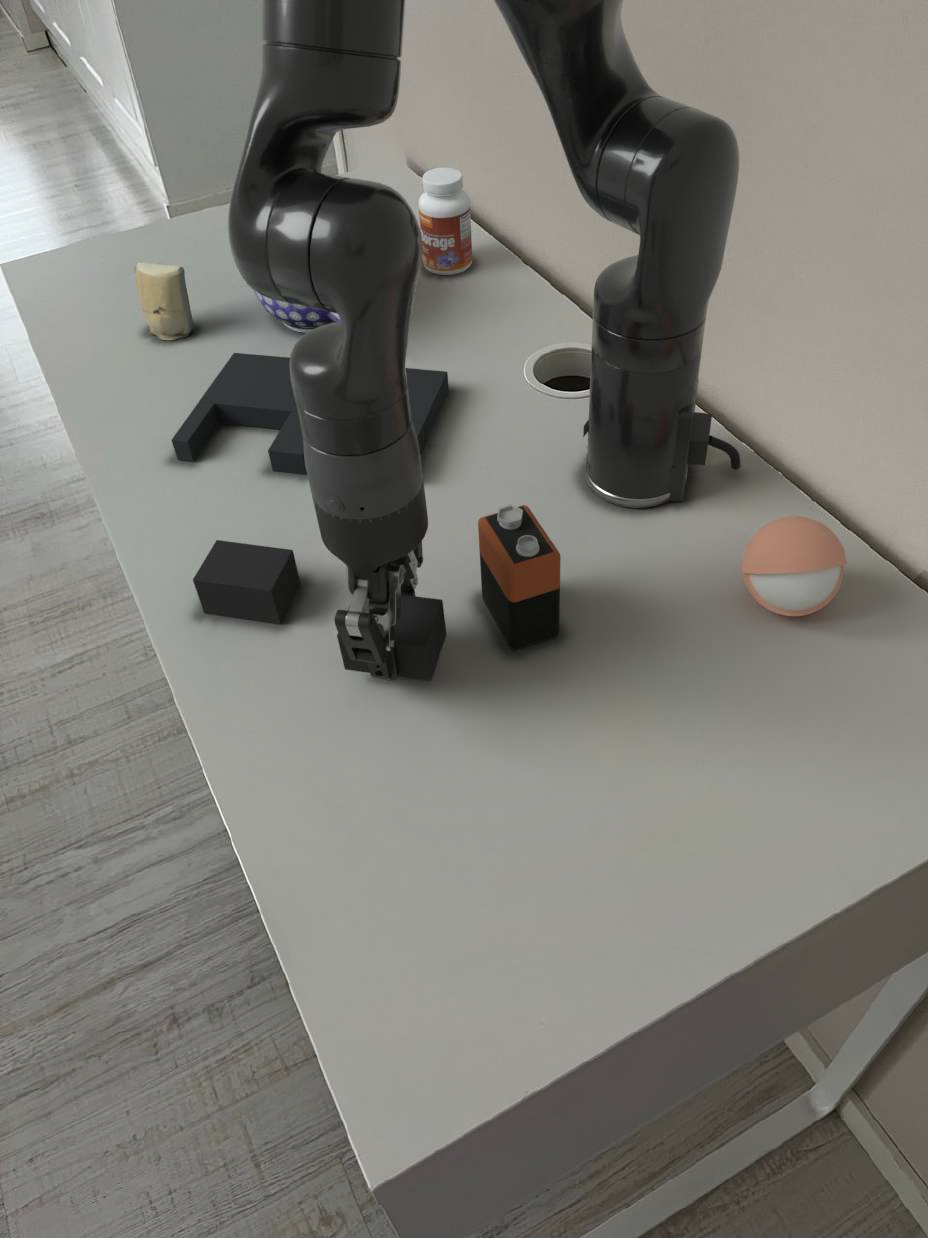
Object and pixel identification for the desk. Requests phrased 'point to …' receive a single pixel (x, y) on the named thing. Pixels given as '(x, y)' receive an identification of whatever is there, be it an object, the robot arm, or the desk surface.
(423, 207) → the pill bottle
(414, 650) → the pad
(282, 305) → the teapot
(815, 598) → the toy ball
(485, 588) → the battery
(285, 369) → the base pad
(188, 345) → the desk surface
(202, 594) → the pad
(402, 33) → the robot arm
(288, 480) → the desk surface
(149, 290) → the beige upright cylinder
